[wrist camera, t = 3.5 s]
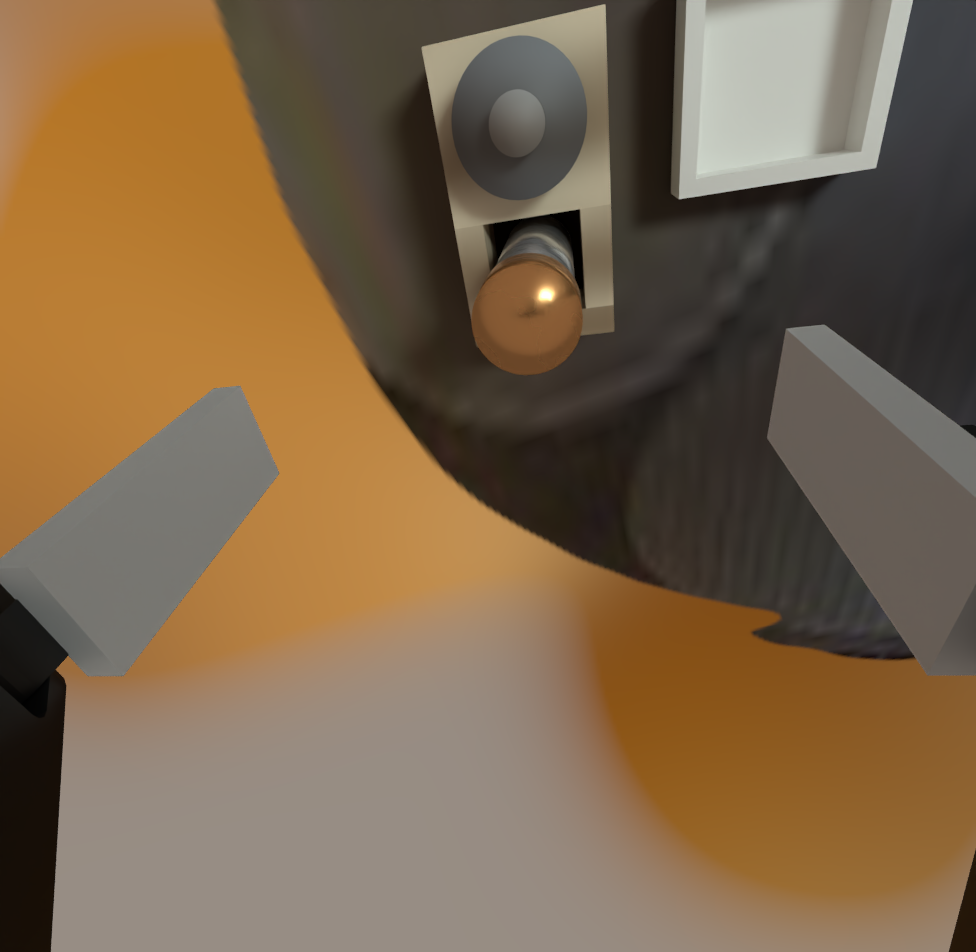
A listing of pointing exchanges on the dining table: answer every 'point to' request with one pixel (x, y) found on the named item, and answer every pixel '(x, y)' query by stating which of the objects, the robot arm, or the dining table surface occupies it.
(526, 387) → the dining table surface
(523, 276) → the pin
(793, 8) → the tray
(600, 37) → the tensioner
